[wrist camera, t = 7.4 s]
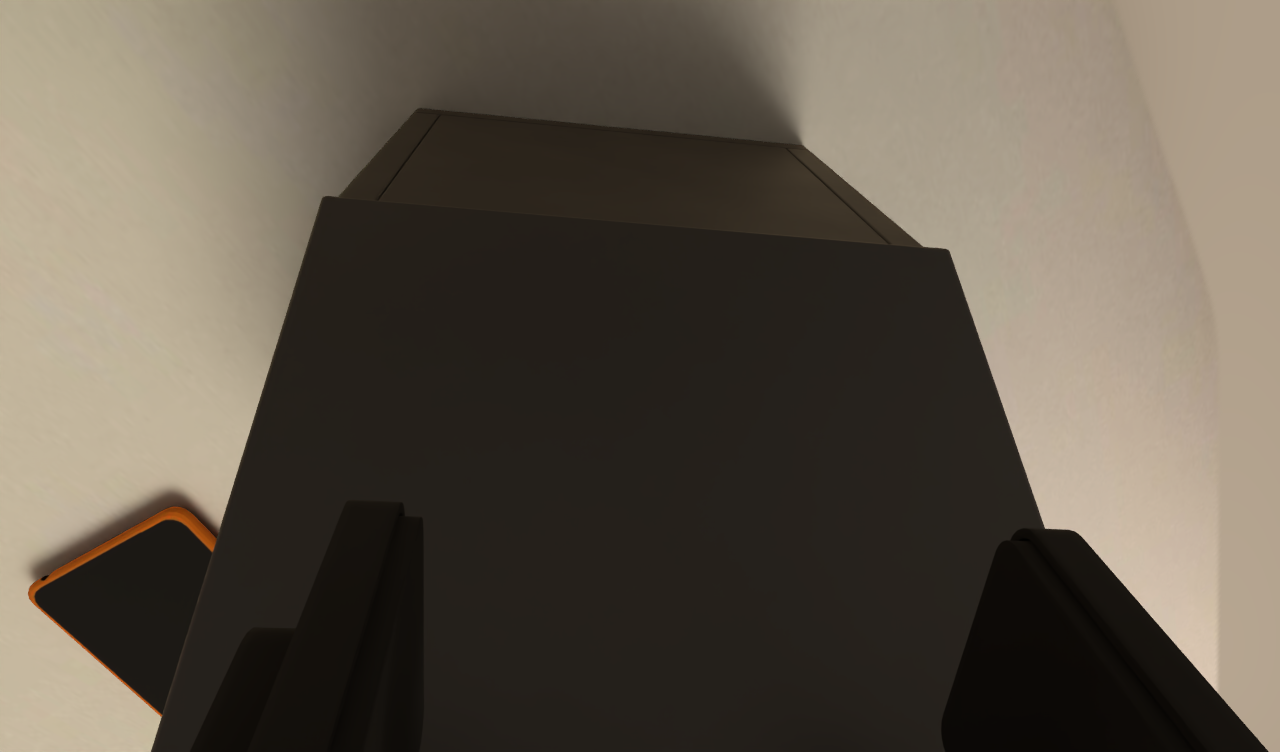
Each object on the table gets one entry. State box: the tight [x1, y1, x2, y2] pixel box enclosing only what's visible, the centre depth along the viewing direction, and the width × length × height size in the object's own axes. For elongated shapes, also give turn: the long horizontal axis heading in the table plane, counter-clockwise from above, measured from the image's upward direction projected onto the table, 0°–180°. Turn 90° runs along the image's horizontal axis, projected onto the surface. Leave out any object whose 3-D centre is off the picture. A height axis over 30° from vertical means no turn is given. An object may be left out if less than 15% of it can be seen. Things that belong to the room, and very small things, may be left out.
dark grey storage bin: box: [339, 108, 923, 247], centre depth 27 cm, size 14×13×12 cm
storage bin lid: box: [151, 196, 1045, 752], centre depth 12 cm, size 14×13×5 cm
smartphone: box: [28, 507, 217, 717], centre depth 37 cm, size 8×17×1 cm, turn 29°
